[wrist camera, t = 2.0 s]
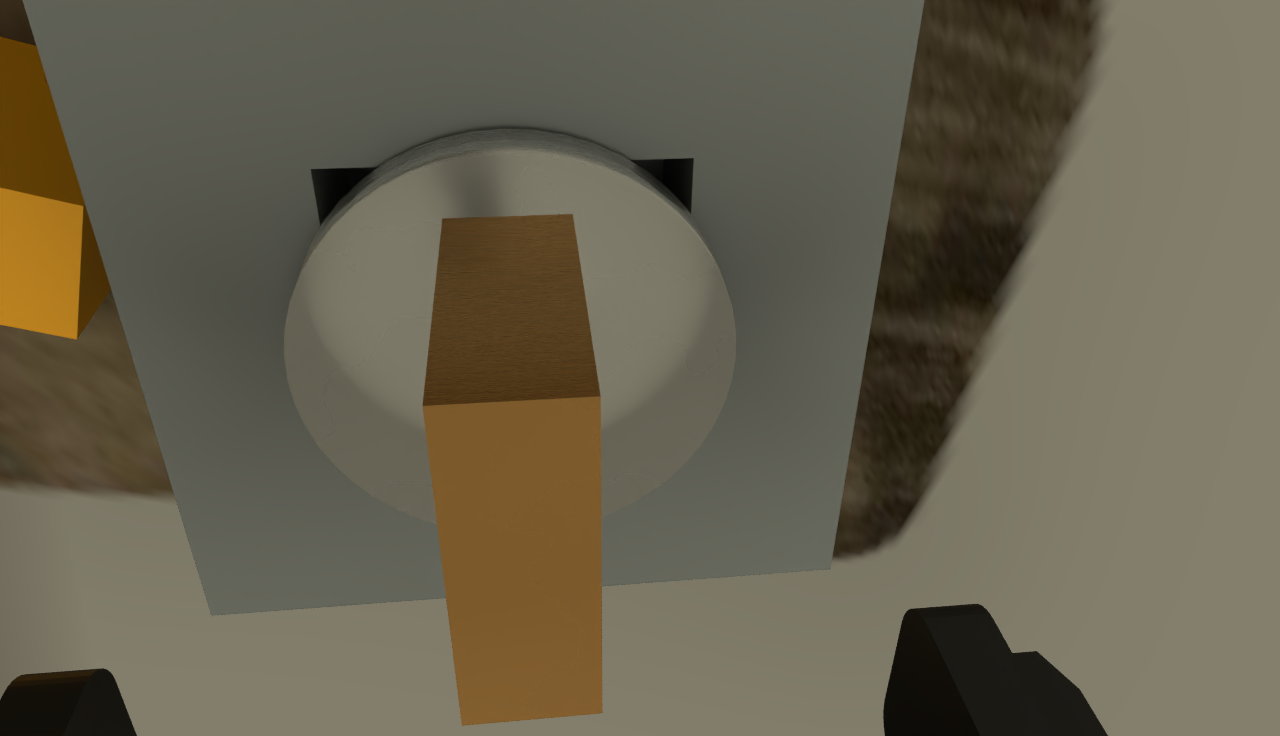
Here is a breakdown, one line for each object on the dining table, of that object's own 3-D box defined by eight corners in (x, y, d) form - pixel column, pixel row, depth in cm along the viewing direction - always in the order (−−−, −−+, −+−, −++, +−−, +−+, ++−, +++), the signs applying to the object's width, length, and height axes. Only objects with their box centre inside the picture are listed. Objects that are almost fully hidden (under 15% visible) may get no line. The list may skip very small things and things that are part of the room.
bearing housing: (174, -146, 19) (1, -70, 12) (792, -143, 20) (936, -72, 14) (285, 380, 26) (211, 615, 19) (747, 357, 27) (829, 568, 20)
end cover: (295, 66, 17) (140, 341, 9) (701, 59, 17) (849, 309, 10) (352, 404, 20) (273, 787, 13) (684, 386, 21) (784, 739, 14)
